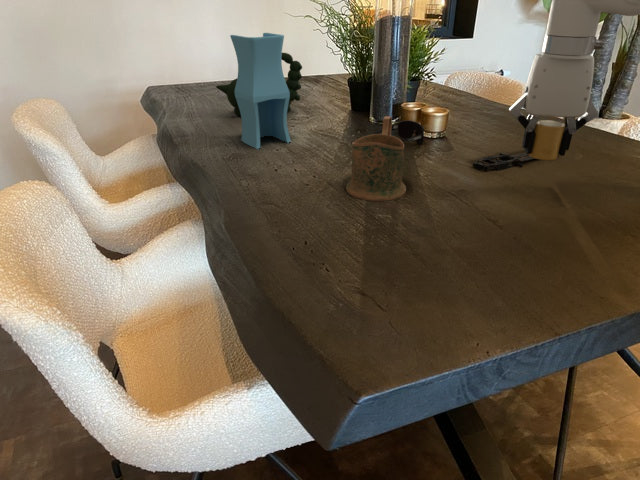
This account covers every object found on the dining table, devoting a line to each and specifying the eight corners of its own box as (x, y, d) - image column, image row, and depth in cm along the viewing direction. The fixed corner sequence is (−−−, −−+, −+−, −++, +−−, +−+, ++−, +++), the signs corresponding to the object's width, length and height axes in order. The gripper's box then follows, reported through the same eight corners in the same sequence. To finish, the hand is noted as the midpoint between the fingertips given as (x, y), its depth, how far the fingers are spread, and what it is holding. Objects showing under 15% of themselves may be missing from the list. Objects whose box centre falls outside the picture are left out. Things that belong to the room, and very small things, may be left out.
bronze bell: (413, 172, 103) (418, 115, 98) (401, 204, 89) (406, 139, 83) (360, 167, 106) (361, 111, 101) (339, 197, 91) (340, 134, 86)
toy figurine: (296, 114, 156) (216, 111, 151) (300, 51, 147) (216, 46, 143) (300, 122, 148) (216, 118, 143) (304, 55, 139) (215, 49, 134)
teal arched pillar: (272, 133, 130) (266, 32, 119) (291, 142, 123) (287, 35, 112) (238, 139, 126) (229, 35, 114) (256, 149, 118) (248, 38, 107)
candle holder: (554, 152, 92) (561, 120, 89) (560, 161, 88) (568, 127, 85) (526, 150, 93) (532, 119, 90) (531, 159, 88) (538, 126, 85)
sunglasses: (429, 146, 119) (429, 126, 116) (389, 160, 115) (388, 139, 112) (403, 135, 127) (402, 117, 125) (365, 148, 123) (363, 129, 120)
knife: (553, 150, 116) (555, 144, 115) (575, 158, 111) (577, 152, 110) (466, 164, 108) (467, 157, 107) (485, 173, 102) (486, 166, 102)
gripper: (615, 45, 83) (587, 149, 92) (510, 43, 86) (493, 144, 94) (631, 51, 77) (599, 162, 85) (517, 48, 79) (498, 156, 88)
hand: (543, 151), depth 90 cm, fingers closed on candle holder, 5 cm apart
